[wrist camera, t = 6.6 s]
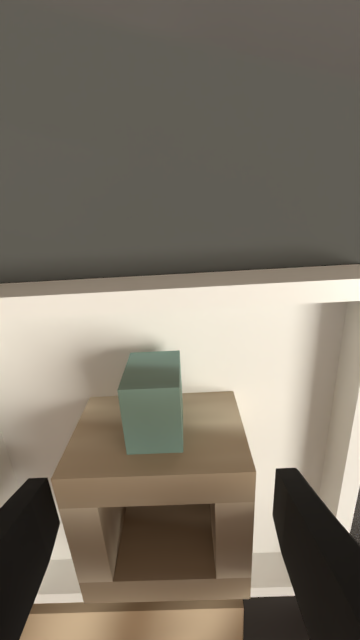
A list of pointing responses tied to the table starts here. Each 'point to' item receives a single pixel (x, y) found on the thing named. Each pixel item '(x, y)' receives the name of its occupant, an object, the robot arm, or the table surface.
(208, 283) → the tray
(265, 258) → the table surface
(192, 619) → the tan base plate
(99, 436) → the collar
